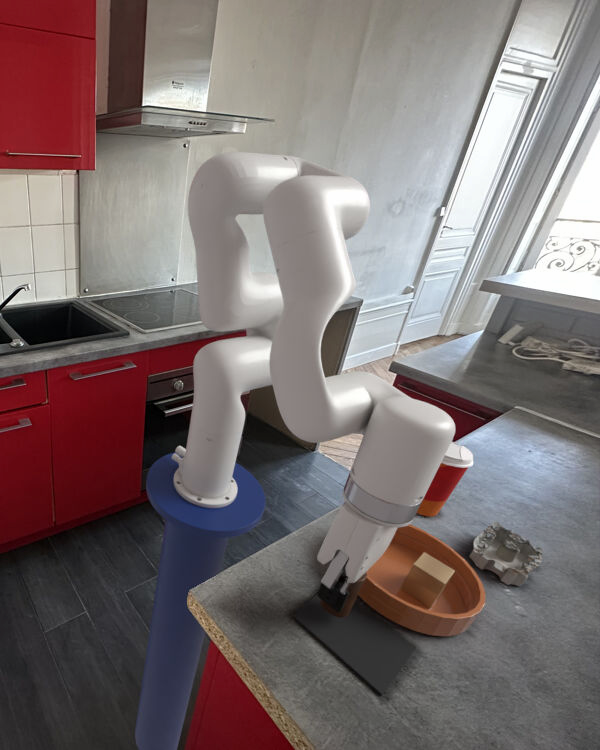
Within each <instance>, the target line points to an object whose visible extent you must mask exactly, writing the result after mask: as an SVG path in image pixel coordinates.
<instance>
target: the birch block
mask: <svg viewBox="0 0 600 750" xmlns="http://www.w3.org/2000/svg"><path fill="white" fill-rule="evenodd" d="M454 572H455V570H453V569H451V568H450V567H448V566H447V565H445V564H443V563H442V562H440V561H438V560H437V559H435V558H433V557H432V556H430V555H428V554H427V553H425V552H424V553H423V554H422V555H421V556H420V557H419V558H418V559H417V561H416V562H415V563H414V564H413V566H412V568H411V569H410V571H409V573H408V575H407V577H406V579H405V580H404V582H403V584H402V586H401V589H402V590H403V591H405V592H406V593H408V594H409V595H411V596H412V597H414V598H415V599H417V600H418V601H419V602H421V603H422V604H424V605H425V606H427V607H428V608H431V607H432V605H433V604H434V603H435V601H436V600H437V599H438V597H439V596H440V595H441V593H442V592H443V590H444V588H445V587H446V585H447V583H448V582H449V580H450V579H451V577H452V575H453V574H454Z"/></svg>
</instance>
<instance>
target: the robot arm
mask: <svg viewBox="0 0 600 750" xmlns="http://www.w3.org/2000/svg"><path fill="white" fill-rule="evenodd" d="M370 211H371V201H370V196H369V193H368V191H367V190H366V188H365V186H364V185H362V183H361V182H360V181H359V180H357V179H356V178H353V177H351V176H349V175H346V174H343V173H341V172H339V171H336V170H333V169H330V168H327V167H325V166H322V165H320V164H317V163H314V162H312V161H310V160H307V159H304V158H301V157H298V156H293V155H287V154H276V153H275V154H271V153H261V152H249V151H231V152H224V153H220V154H217V155H215V156H212V157H210V158H208V159H207V160H206V161H205V162H203V163H202V164H201V166H199V167H198V168H197V171H196V172H195V175H194V177H193V179H192V180H191V184H190V188H189V191H188V197H187V216H188V222H189V227H190V231H191V234H192V239H193V245H194V250H195V262H196V263H195V266H196V280H197V281H196V282H197V283H196V284H197V299H198V312H199V317H200V320H201V323H202V325H203V327H205V329H207V330H208V331H211V332H217V333H222V332H223V333H224V332H225V333H226V332H232V331H240V330H245V332H246V336H238V337H231V338H225V339H220V340H216V341H213V342H210V343H208V344H206V345H204V346H203V347H201V348H200V349H199V350H198V351H197V353H196V354H195V356H194V358H193V363H192V374H193V398H192V399H193V401H192V408H191V413H190V414H191V415H190V421H189V426H188V427H189V428H188V435H187V441H186V447H183V446H181V445H178V446H177V447H176V448H175V451H174V453H175V454H173V455H172V459H173V460H174V461H176V462H178V463H179V468H178V469H177V470H176V472H175V474H174V479H173V481H174V487H175V489H176V491H177V492H178V493H179V494H180V495H181V496H182V497H183V498H184V499H185V500H187V501H189V502H190V503H193V504H195V505H198V506H201V507H206V508H221V507H224V506H227V505H229V504H231V503H232V502H233V501H234V500H235V498H236V495H237V490H238V488H237V484H236V482H235V480H234V479H233V477H232V475H233V471H234V466H235V462H236V463H237V457H238V453H239V448H240V443H241V440H242V436H243V435H242V434H243V431H244V426H245V422H246V409H245V407H244V405H243V403H242V399H241V396H242V395H243V393H245V392H249V391H252V390H255V389H261V388H265V387H269V386H272V388H273V392H274V397H275V401H276V405H277V408H278V410H279V414H280V416H281V418H282V420H283V423H284V425H285V426H286V427H287V429H288V430H289V431H290V432H291V433H292V434H293V435H294V436H295V437H297V438H298V439H300V440H302V441H305V442H307V443H314V444H320V443H321V444H322V443H327V442H331V441H334V440H337V439H340V438H343V437H347V436H349V435H352V434H353V435H354V434H358V435H362V436H363V437H362V438H361V440H360V444H359V447H358V449H357V452H356V455H355V457H354V460H353V463H352V465H351V468H350V471H349V473H348V476H347V479H346V481H345V484H344V486H343V489H342V498H343V500H344V503H342V505H341V507H340V508H339V509H338V512H337V513H336V515H335V517H334V519H333V521H332V523H331V525H330V526H329V529H328V531H327V533H326V535H325V537H324V540H323V541H322V544H321V546H320V548H319V550H318V553H317V556H316V558H317V561H318V563H320V564H321V565H323V566H324V565H327V563H329V562H330V563H329V565H328V568H327V570H326V572H325V573H324V575H323V577H322V578H321V580H320V586H319V588H318V591H317V593H316V594H317V596H318V597H319V598H320V599H321V600H322V601H324V602H325V603H326V604H327V605H329V606H330V607H331V608H332V609H334V610H335V611H336V612H338V613H339V612H341V610H342V609H343V606H344V604H345V602H346V600H347V598H348V595H349V593H350V592H349V591H348V588H349V586H350V584H351V583H354V582H356V581H357V580H358V579H359V578H360V577H361V576H362V575H363V574H364V573H365V572H367V571H368V570H369V568H370V567H371V566H372V565H373V564H374V563H375V562H376V561H377V560H378V559H379V558H380V557H381V556H382V555H383V554H384V552H385V551H386V549H387V548H388V546H389V544H390V542H391V541H392V539H393V537H394V535H395V532H396V530H397V528H398V527H405V526H408V525H409V524H410V525H412V523H413V521H414V520H415V517H416V515H417V514H418V513H417V511H418V509H419V506H420V504H421V502H422V500H423V498H424V496H425V494H426V492H427V490H428V488H429V486H430V484H431V482H432V480H433V478H434V476H435V474H436V472H437V470H438V468H439V466H440V464H441V462H442V460H443V458H444V456H445V454H446V452H447V450H448V448H449V446H450V444H451V442H453V440H454V436H455V434H456V424H455V422H454V419H453V418H452V417H451V416H450V415H449V414H448V413H447V412H446V411H445V410H443V409H441V408H439V407H438V406H436V405H433V404H431V403H429V402H426V401H422V400H419V399H415V398H412V397H411V396H409V395H407V394H406V393H405V392H403V391H401V390H400V389H398V388H397V387H395V386H393V385H392V384H391V383H389V382H388V381H387V380H385V379H384V378H382V377H380V376H378V375H376V374H374V373H371V372H368V371H362V370H361V371H360V370H355V371H350V372H345V373H341V374H334V375H330V376H327V377H325V376H326V375H325V373H324V368H323V362H322V351H321V350H322V349H321V348H322V340H323V336H324V333H325V330H326V328H327V325H328V323H329V322H330V320H331V319H332V317H333V316H334V315H335V313H337V311H338V310H339V309H340V308H341V307H342V306H343V305H344V304H345V302H347V301H348V300H349V299H350V298H351V297H352V296H353V294H354V293H355V291H356V289H357V288H356V287H357V281H356V278H355V274H354V271H353V265H352V263H351V259H350V256H349V252H348V248H347V244H346V241H347V240H349V239H351V238H353V237H355V236H356V235H357V234H359V233H360V232H361V231H362V229H363V228H364V227H365V225H366V223H367V221H368V219H369V216H370V213H371V212H370ZM239 215H262V216H263V223H264V226H265V232H266V235H267V236H266V237H267V240H268V243H269V248H270V253H271V256H272V260H273V265H274V269H275V273H276V274H273V273H271V272H265V271H258V272H252V271H251V264H250V246H249V243H248V242H249V241H248V239H247V237H246V235H245V232H244V230H243V229H242V227H241V225H240V224H239V223H238V221H237V218H236V217H237V216H239ZM176 453H177V454H178V455H179V456H178V455H177V454H176ZM180 456H181V457H183V458H180ZM340 575H342V576H344V577H345V578H346V579H345V581H344V583H342V582H341V581H339V580H338V578H339V577H340ZM366 576H367V574H366ZM359 592H360V591H359Z"/></svg>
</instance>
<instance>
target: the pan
mask: <svg viewBox="0 0 600 750" xmlns="http://www.w3.org/2000/svg"><path fill="white" fill-rule="evenodd" d="M424 552H425V553H427V554H428V555H430V556H432V557H433V558H435V559H437V560H438V561H440V562H442V563H443V564H445V565H447V566H448V567H450V568H451V569H453V570H455V572H454V574H453V575H452V577H451V579H450V580H449V582H448V583H447V585H446V587H445V588H444V590H443V592H442V593H441V595H440V596H439V597H438V599H437V600H436V601H435V603H434V604H433V605H432V607H431V608H428V607H427V606H425V605H424V604H422V603H421V602H419V601H418V600H417V599H415V598H414V597H412V596H411V595H409V594H408V593H406V592H405V591H403V590H402V589H401V586H402V584H403V582H404V580H405V579H406V577H407V575H408V573H409V571H410V569H411V568H412V566H413V564H414V563H415V562H416V561H417V559H418V558H419V557H420V556H421V555H422V554H423V553H424ZM366 574H367V576H366V579H365V581H364V583H363V585H362V587H361V589H360V592H359V594H358V596H357V597H359V598H360V599H362V601H363V602H364V603H365V604H367V605H368V606H369V607H370V608H372V609H373V610H374V611H376V612H377V613H379V614H380V615H381V616H383V617H384V618H386V619H388V620H389V621H391V622H393V623H395V624H398V625H399V626H401V627H403V628H406V629H407V630H408V629H409V630H412V631H414V632H417V633H421V634H424V635H428V636H434V637H435V636H436V637H452V636H458V635H461V634H463V633H464V632H466V631H467V630H469V629H470V627H471V626H472V624H473V623H474V621H475V620H476V619H477V617H478V616H479V615H480V613H481V612H482V610H483V608H484V607H485V605H486V596H487V595H486V591H485V588H484V584H483V582H482V580H481V578H480V577H479V575H478V574H477V572H476V570H475V569H474V568H473V567H472V566H471V565H470V563H469V562H468V561H467V560H466V559H465V558H464V557H462V556H461V554H459V553H458V552H457V551H456V550H455V549H454V548H452V547H451V546H450V545H448V544H446V543H445V542H444V541H442V540H441V539H439V538H438V537H436V536H434V535H432V534H431V533H429V532H428V531H426V530H424V529H421V528H419V527H417V526H415V525H413V524H409V525H408V526H405V527H398V528H397V530H396V532H395V535H394V537H393V539H392V541H391V542H390V544H389V546H388V548H387V549H386V551H385V552H384V554H383V555H382V556H381V557H380V558H379V559H378V560H377V561H376V562H375V563H374V564H373V565H372V566H371V567H370V568H369V570H368V571H367V572H366Z"/></svg>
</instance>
